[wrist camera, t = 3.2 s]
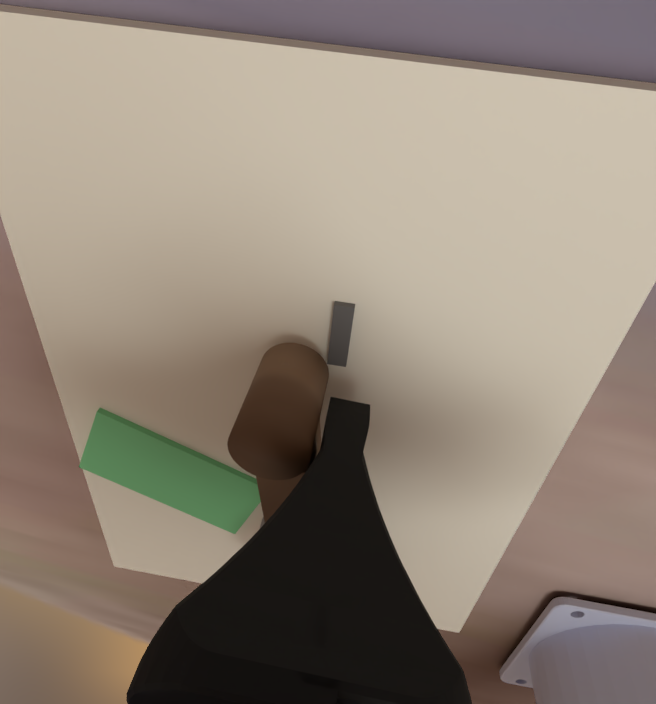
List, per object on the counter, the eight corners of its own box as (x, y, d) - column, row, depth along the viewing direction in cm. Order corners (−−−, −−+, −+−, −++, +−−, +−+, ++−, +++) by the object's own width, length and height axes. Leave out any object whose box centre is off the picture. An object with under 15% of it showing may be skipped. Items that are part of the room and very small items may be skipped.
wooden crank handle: (357, 578, 18) (347, 682, 15) (273, 568, 18) (248, 667, 16) (356, 345, 12) (338, 449, 9) (229, 339, 12) (176, 436, 10)
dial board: (712, 90, 9) (761, 104, 8) (456, 597, 21) (459, 638, 20) (-12, 2, 10) (-77, 3, 9) (130, 536, 22) (111, 570, 21)
